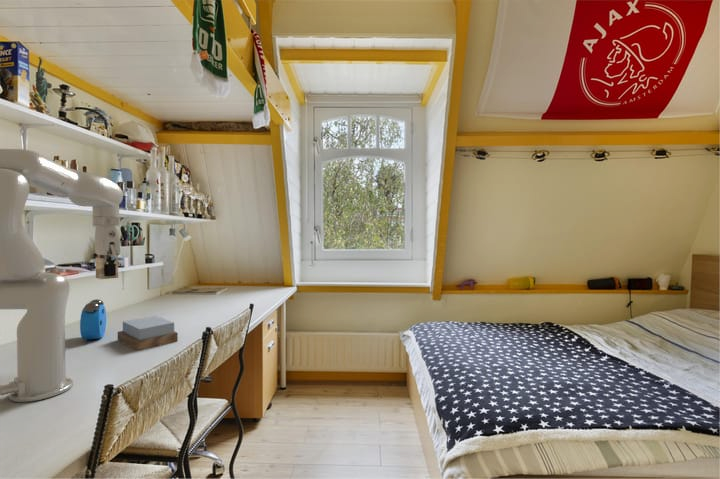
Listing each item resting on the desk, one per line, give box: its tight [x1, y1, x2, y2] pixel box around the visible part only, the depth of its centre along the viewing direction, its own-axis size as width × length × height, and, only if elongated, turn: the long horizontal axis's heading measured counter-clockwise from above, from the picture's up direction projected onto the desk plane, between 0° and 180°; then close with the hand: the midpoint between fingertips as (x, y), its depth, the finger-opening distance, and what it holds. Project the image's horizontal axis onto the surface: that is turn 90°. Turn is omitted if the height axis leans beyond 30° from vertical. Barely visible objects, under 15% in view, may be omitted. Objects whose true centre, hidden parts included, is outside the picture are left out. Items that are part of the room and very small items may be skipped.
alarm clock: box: [79, 298, 107, 342], centre depth 140 cm, size 13×6×15 cm, turn 25°
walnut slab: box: [117, 330, 179, 352], centre depth 138 cm, size 14×19×4 cm
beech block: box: [95, 256, 119, 280], centre depth 123 cm, size 5×5×7 cm
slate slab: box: [122, 315, 175, 340], centre depth 138 cm, size 12×17×4 cm
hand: (106, 274), depth 123 cm, fingers closed on beech block, 5 cm apart
